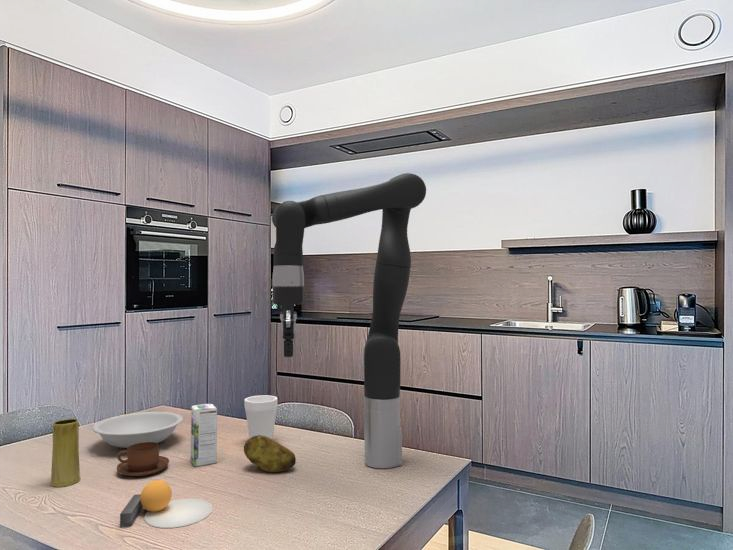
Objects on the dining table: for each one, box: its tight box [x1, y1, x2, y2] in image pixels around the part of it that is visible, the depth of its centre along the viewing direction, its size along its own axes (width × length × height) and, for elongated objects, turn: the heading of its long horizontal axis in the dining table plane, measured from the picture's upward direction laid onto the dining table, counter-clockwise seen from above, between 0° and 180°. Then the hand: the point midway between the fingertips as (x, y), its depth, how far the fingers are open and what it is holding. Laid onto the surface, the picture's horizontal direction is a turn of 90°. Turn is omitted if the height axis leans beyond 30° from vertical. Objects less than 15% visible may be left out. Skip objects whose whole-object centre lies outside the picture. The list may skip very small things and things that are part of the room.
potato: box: [243, 435, 297, 473], centre depth 129 cm, size 8×13×8 cm, turn 59°
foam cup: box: [243, 394, 279, 440], centre depth 149 cm, size 10×9×13 cm
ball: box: [140, 479, 172, 512], centre depth 106 cm, size 6×6×6 cm
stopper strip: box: [119, 493, 144, 528], centre depth 103 cm, size 2×9×2 cm, turn 9°
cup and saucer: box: [116, 442, 170, 477], centre depth 128 cm, size 12×12×6 cm
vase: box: [49, 418, 81, 488], centre depth 121 cm, size 6×6×14 cm
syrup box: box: [190, 403, 218, 468], centre depth 134 cm, size 6×6×14 cm
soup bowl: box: [91, 411, 184, 449], centre depth 149 cm, size 24×24×7 cm
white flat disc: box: [144, 498, 213, 529], centre depth 105 cm, size 13×13×1 cm
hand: (288, 356), depth 124 cm, fingers closed
